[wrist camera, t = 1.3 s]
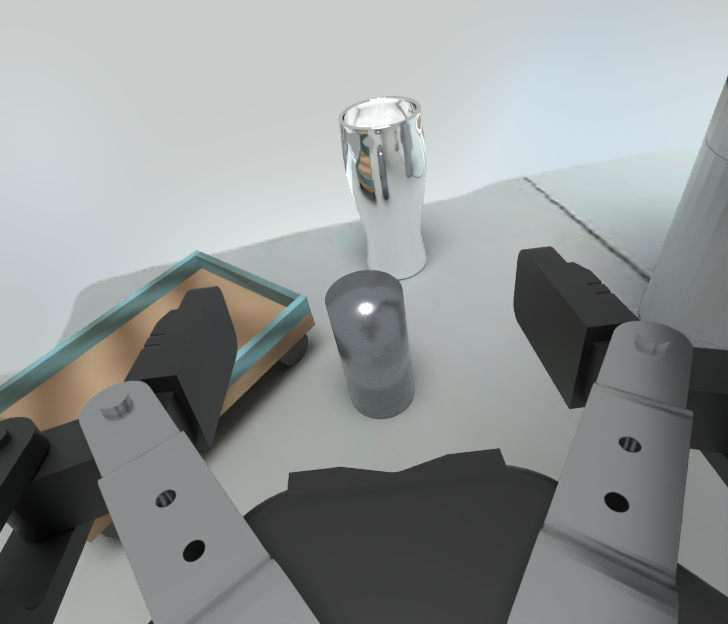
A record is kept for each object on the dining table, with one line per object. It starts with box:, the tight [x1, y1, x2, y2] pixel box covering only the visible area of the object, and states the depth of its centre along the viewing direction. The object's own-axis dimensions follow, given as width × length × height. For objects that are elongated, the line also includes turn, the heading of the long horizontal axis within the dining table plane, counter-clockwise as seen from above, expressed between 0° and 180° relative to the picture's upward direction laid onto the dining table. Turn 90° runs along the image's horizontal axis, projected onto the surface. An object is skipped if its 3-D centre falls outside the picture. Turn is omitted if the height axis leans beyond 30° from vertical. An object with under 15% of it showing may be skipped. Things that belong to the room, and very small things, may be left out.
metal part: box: [325, 270, 414, 419], centre depth 31 cm, size 5×5×10 cm
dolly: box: [0, 250, 315, 542], centre depth 35 cm, size 20×14×6 cm
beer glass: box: [339, 96, 427, 280], centre depth 40 cm, size 7×7×15 cm
